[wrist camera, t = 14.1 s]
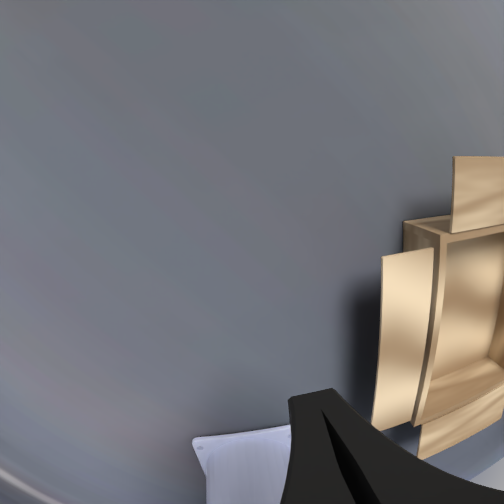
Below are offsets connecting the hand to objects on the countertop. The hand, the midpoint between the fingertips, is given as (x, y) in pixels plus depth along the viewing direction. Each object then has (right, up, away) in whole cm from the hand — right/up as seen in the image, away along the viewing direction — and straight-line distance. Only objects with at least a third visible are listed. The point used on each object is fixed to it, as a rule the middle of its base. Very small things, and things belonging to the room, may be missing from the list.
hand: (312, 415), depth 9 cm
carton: (+14, +1, +12) cm, 18 cm away
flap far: (+15, -7, +10) cm, 19 cm away
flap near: (+13, +6, +6) cm, 16 cm away
